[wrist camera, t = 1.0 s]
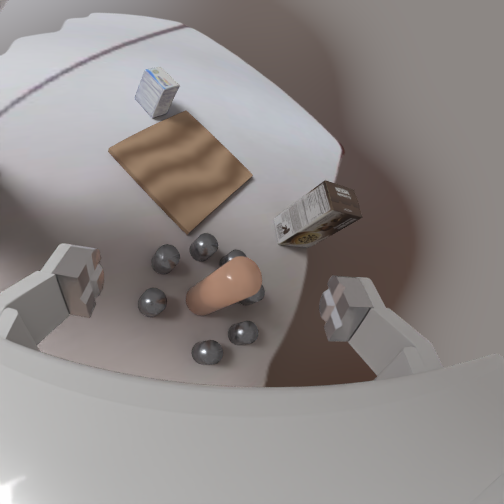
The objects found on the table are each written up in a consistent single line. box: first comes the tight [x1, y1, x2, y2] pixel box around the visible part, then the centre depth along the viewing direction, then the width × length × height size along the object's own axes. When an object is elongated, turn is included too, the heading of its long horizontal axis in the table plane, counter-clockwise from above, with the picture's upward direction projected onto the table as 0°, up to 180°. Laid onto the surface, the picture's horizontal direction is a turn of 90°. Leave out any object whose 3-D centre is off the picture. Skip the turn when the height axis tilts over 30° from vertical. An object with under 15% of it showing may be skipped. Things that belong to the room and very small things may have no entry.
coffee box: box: [274, 180, 362, 248], centre depth 55 cm, size 9×6×16 cm
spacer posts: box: [138, 233, 264, 364], centre depth 43 cm, size 21×19×4 cm
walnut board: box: [108, 111, 253, 235], centre depth 51 cm, size 22×22×1 cm
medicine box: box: [135, 67, 180, 118], centre depth 49 cm, size 8×4×9 cm, turn 49°
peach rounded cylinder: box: [186, 256, 262, 316], centre depth 38 cm, size 5×5×14 cm
